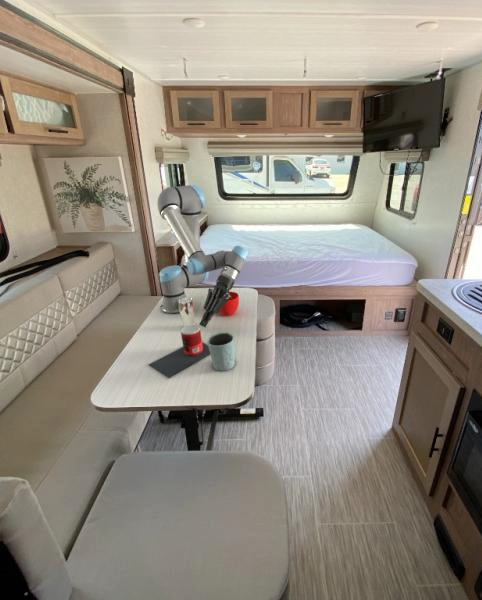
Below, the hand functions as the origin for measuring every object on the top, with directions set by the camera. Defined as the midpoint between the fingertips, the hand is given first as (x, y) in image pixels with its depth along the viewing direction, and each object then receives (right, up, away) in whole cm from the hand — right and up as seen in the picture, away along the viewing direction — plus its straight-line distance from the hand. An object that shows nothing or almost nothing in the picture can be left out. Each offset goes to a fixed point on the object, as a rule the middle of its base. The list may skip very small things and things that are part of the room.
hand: (202, 326), depth 139 cm
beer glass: (-11, -3, +20) cm, 23 cm away
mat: (-7, -13, -4) cm, 15 cm away
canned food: (-4, -11, 0) cm, 12 cm away
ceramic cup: (+4, +4, +34) cm, 35 cm away
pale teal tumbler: (+11, -15, -10) cm, 21 cm away
